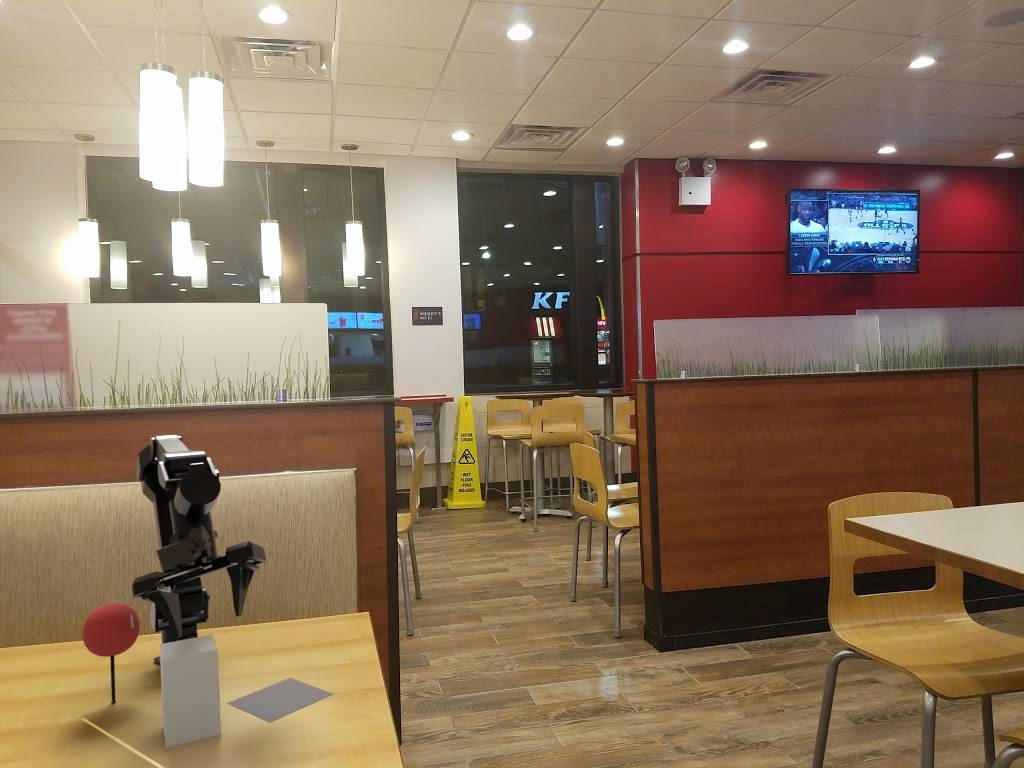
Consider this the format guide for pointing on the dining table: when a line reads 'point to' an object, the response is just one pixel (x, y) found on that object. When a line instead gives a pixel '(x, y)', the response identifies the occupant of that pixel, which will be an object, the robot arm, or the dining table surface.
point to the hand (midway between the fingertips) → (208, 626)
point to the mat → (279, 699)
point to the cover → (190, 690)
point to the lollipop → (111, 633)
